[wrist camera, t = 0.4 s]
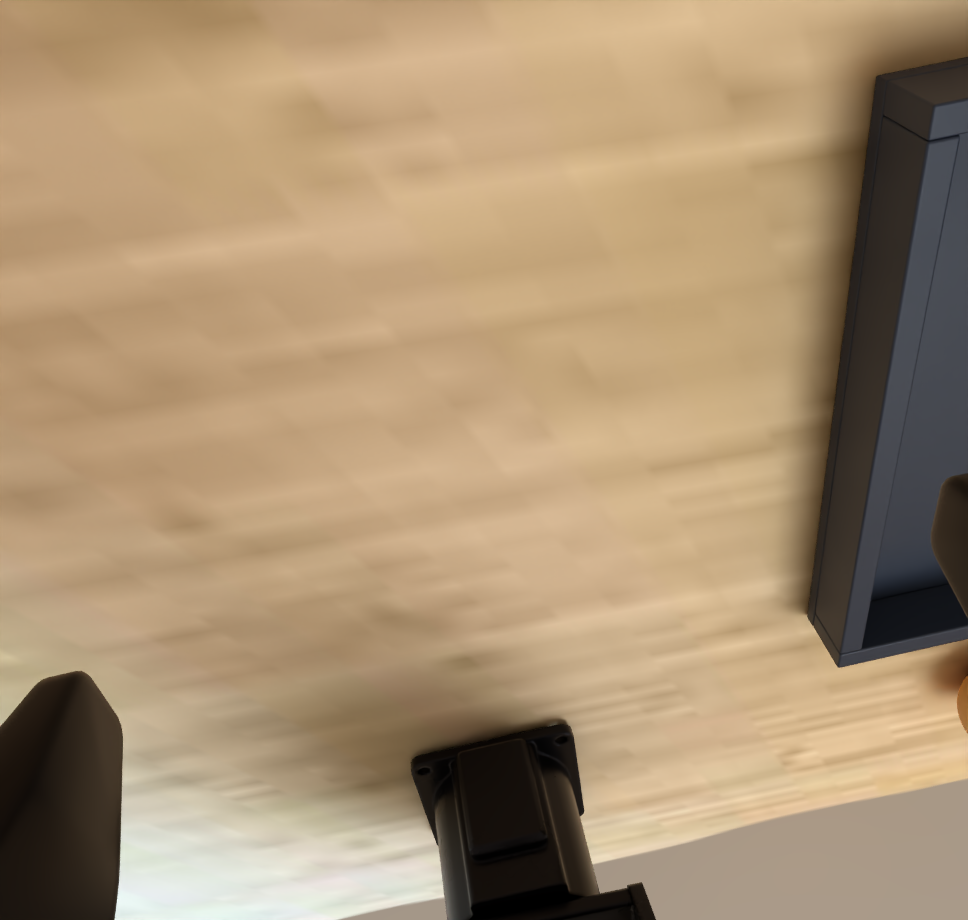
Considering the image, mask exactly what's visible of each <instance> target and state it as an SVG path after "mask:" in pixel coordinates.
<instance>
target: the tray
mask: <svg viewBox="0 0 968 920" xmlns="http://www.w3.org/2000/svg"><path fill="white" fill-rule="evenodd" d="M964 473H968V57H967V58H962V59H957V60H952V61H947V62H942V63H937V64H932V65H927V66H922V67H917V68H912V69H908V70H903V71H898V72H893V73H888V74H883V75H878V76H877V77H876V84H875V92H874V100H873V108H872V116H871V123H870V131H869V139H868V147H867V155H866V162H865V170H864V178H863V186H862V194H861V201H860V209H859V217H858V225H857V233H856V241H855V248H854V256H853V264H852V272H851V280H850V287H849V295H848V303H847V311H846V319H845V326H844V334H843V342H842V350H841V358H840V365H839V373H838V381H837V389H836V397H835V404H834V412H833V420H832V428H831V436H830V443H829V451H828V459H827V467H826V475H825V482H824V490H823V498H822V506H821V514H820V522H819V529H818V537H817V545H816V553H815V561H814V568H813V576H812V584H811V592H810V600H809V607H808V615H807V617H808V619H809V620H810V622H811V624H812V625H813V626H814V628H815V630H816V632H817V633H818V635H819V637H820V638H821V640H822V642H823V643H824V645H825V647H826V648H827V650H828V652H829V653H830V655H831V657H832V658H833V660H834V662H835V663H836V665H837V667H839V668H840V667H845V666H849V665H854V664H858V663H863V662H867V661H872V660H876V659H880V658H885V657H889V656H894V655H898V654H903V653H907V652H912V651H916V650H920V649H925V648H929V647H934V646H938V645H943V644H947V643H952V642H956V641H961V640H965V639H968V618H967V616H966V614H965V612H964V610H963V608H962V606H961V605H960V603H959V601H958V599H957V597H956V595H955V593H954V591H953V590H952V588H951V586H950V584H949V582H948V580H947V578H946V576H945V575H944V573H943V571H942V569H941V567H940V565H939V563H938V561H937V560H936V557H935V555H934V553H933V550H932V546H931V529H932V525H933V520H934V516H935V511H936V507H937V502H938V498H939V493H940V489H941V486H942V484H943V483H944V481H945V480H946V479H947V478H949V477H951V476H955V475H960V474H964Z"/></svg>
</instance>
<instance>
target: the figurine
mask: <svg viewBox="0 0 968 920" xmlns="http://www.w3.org/2000/svg"><path fill="white" fill-rule="evenodd" d="M957 709H958V714H959V718H960V720H961V723H962V725H963V727H964V729H965V730H966V732H967V733H968V675H967V676H966V678H965V679H964V681H963V682H962V684H961V686H960V689H959V692H958V697H957Z"/></svg>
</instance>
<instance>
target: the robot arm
mask: <svg viewBox="0 0 968 920" xmlns="http://www.w3.org/2000/svg"><path fill="white" fill-rule="evenodd" d="M931 546H932V550H933V553H934V555H935V557H936V560H937V561H938V563H939V565H940V567H941V569H942V571H943V573H944V575H945V576H946V578H947V580H948V582H949V584H950V586H951V588H952V590H953V591H954V593H955V595H956V597H957V599H958V601H959V603H960V605H961V606H962V608H963V610H964V612H965V614H966V616H967V618H968V473H964V474H960V475H955V476H951V477H949V478H947V479H946V480H945V481H944V483H943V484H942V486H941V489H940V493H939V498H938V502H937V507H936V511H935V516H934V520H933V525H932V529H931ZM122 760H123V734H122V728H121V724H120V721H119V719H118V717H117V715H116V713H115V712H114V711H113V709H112V708H111V706H110V705H109V703H108V702H107V700H106V699H105V697H104V696H103V694H102V693H101V691H100V690H99V689H98V687H97V686H96V684H95V683H94V681H93V680H92V678H91V677H90V676H89V675H88V674H86V673H84V672H82V671H75V672H70V673H66V674H61V675H57V676H52V677H48V678H45V679H43V680H41V681H40V682H39V683H37V684H36V685H35V686H34V687H33V689H32V690H31V691H30V692H29V693H28V695H27V696H26V697H25V698H24V699H23V700H22V702H21V703H20V704H19V705H18V706H17V708H16V709H15V710H14V711H13V712H12V713H11V715H10V716H9V717H8V718H7V719H6V721H5V722H4V723H3V724H2V725H1V726H0V920H114V919H115V911H116V903H117V894H118V885H119V870H120V842H121V801H122ZM411 772H412V776H413V779H414V782H415V785H416V788H417V790H418V793H419V796H420V799H421V801H422V804H423V807H424V810H425V813H426V815H427V818H428V821H429V824H430V826H431V829H432V832H433V835H434V838H435V840H436V843H437V845H438V846H439V854H440V862H441V871H442V879H443V888H444V896H445V903H446V912H447V920H656V919H655V916H654V913H653V911H652V908H651V905H650V903H649V900H648V897H647V895H646V892H645V889H644V887H643V884H642V882H641V883H636V884H631V885H627V888H625V889H620V890H615V891H610V892H605V893H601V894H600V892H599V889H598V885H597V881H596V877H595V873H594V869H593V865H592V862H591V858H590V854H589V850H588V846H587V842H586V839H585V835H584V831H583V827H582V823H581V819H580V816H581V815H582V814H583V813H584V806H583V799H582V792H581V785H580V778H579V771H578V764H577V757H576V750H575V743H574V737H573V733H572V729H571V727H570V726H568V725H566V724H558V725H553V726H549V727H544V728H540V729H535V730H531V731H527V732H522V733H518V734H513V735H509V736H504V737H500V738H495V739H491V740H486V741H482V742H478V743H473V744H469V745H464V746H460V747H455V748H451V749H446V750H442V751H437V752H433V753H429V754H424V755H420V756H417V757H415V758H414V759H413V760H412V761H411Z"/></svg>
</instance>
